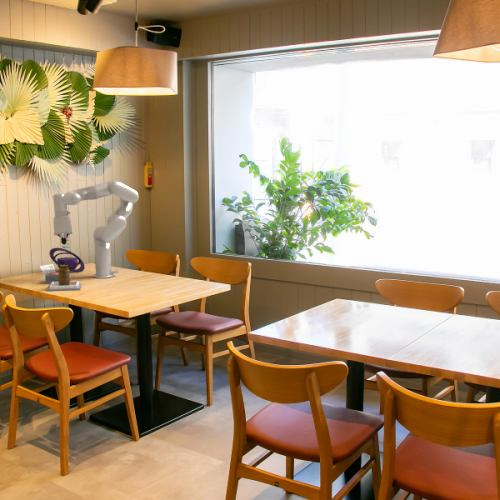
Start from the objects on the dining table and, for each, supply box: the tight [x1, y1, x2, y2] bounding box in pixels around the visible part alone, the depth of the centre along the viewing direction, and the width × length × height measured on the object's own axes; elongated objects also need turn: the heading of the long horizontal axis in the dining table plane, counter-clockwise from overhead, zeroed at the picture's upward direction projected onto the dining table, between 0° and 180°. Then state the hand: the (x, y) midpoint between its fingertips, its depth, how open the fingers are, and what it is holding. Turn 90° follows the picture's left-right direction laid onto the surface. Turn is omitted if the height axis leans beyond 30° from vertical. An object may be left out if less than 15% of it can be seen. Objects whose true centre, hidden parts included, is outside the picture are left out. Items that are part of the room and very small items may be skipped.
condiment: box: [57, 265, 71, 286], centre depth 353 cm, size 7×8×12 cm
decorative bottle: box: [48, 233, 85, 273], centre depth 407 cm, size 22×21×25 cm
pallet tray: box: [46, 280, 83, 292], centre depth 355 cm, size 18×16×2 cm
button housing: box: [44, 272, 59, 285], centre depth 371 cm, size 10×10×5 cm
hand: (64, 244), depth 375 cm, fingers closed
